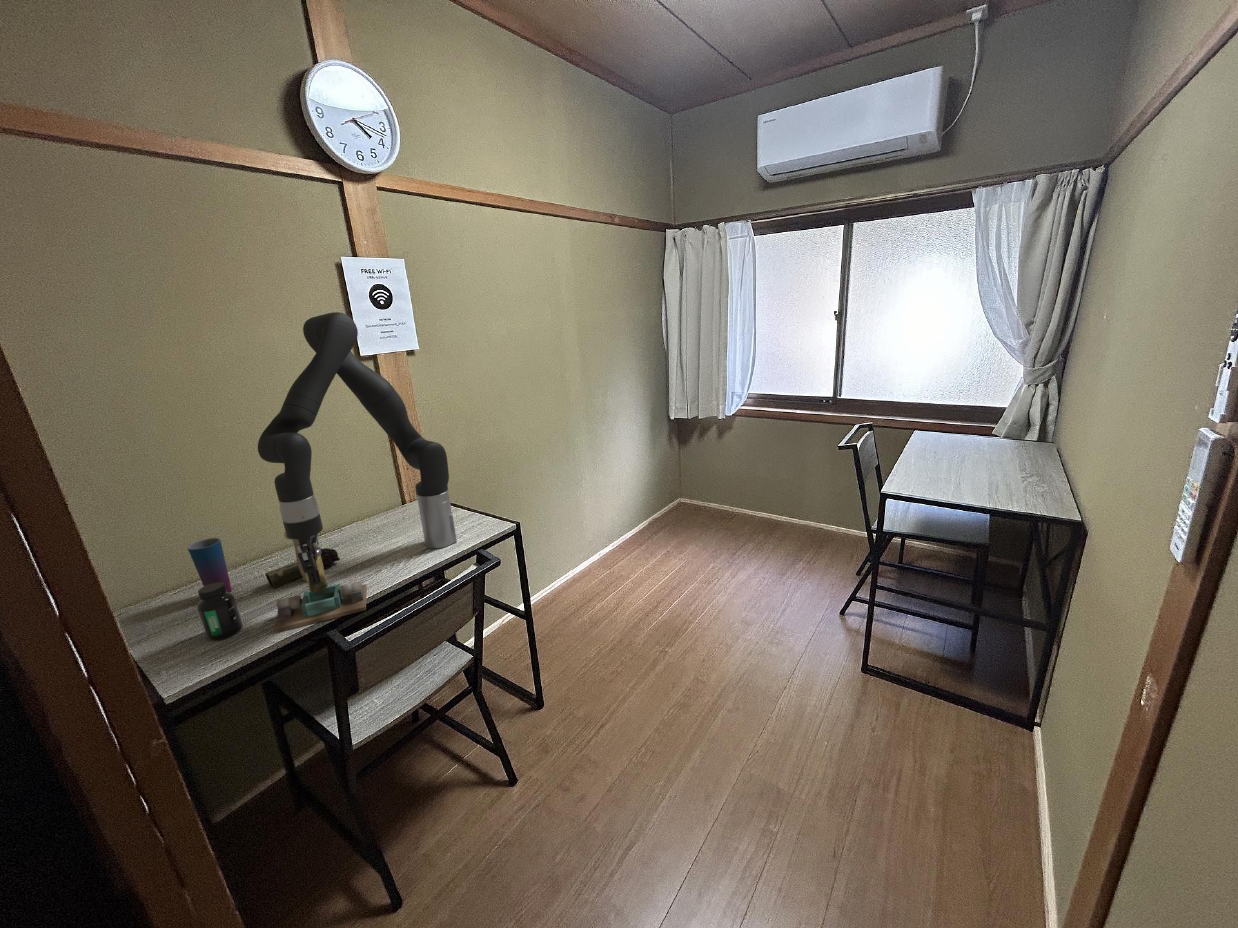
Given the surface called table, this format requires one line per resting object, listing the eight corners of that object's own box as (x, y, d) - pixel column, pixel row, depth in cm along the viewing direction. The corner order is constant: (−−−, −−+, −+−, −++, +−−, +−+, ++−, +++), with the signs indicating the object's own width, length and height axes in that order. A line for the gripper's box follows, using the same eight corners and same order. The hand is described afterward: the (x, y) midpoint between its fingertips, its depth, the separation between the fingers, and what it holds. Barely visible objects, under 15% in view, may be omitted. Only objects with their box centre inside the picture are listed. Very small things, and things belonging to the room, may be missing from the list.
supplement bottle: (222, 643, 114) (206, 597, 110) (200, 639, 116) (184, 593, 112) (250, 625, 120) (236, 581, 117) (229, 621, 122) (214, 578, 118)
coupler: (329, 580, 127) (321, 544, 124) (328, 589, 123) (319, 552, 120) (309, 585, 125) (299, 549, 122) (306, 594, 121) (297, 556, 118)
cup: (201, 603, 130) (184, 551, 126) (207, 591, 136) (191, 541, 132) (233, 596, 133) (217, 545, 129) (238, 584, 139) (222, 535, 135)
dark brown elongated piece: (273, 590, 136) (268, 572, 134) (266, 583, 140) (261, 565, 139) (342, 564, 148) (338, 547, 146) (334, 558, 153) (330, 541, 151)
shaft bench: (366, 587, 135) (363, 570, 133) (365, 610, 124) (361, 592, 123) (284, 606, 127) (279, 589, 126) (276, 632, 117) (270, 614, 116)
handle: (326, 575, 142) (314, 527, 137) (302, 586, 137) (289, 536, 132) (317, 571, 144) (305, 523, 140) (294, 581, 139) (280, 532, 135)
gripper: (315, 522, 114) (331, 589, 119) (322, 502, 126) (336, 563, 131) (277, 529, 111) (295, 597, 116) (287, 508, 123) (303, 570, 128)
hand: (316, 578), depth 123 cm, fingers closed on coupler, 4 cm apart
